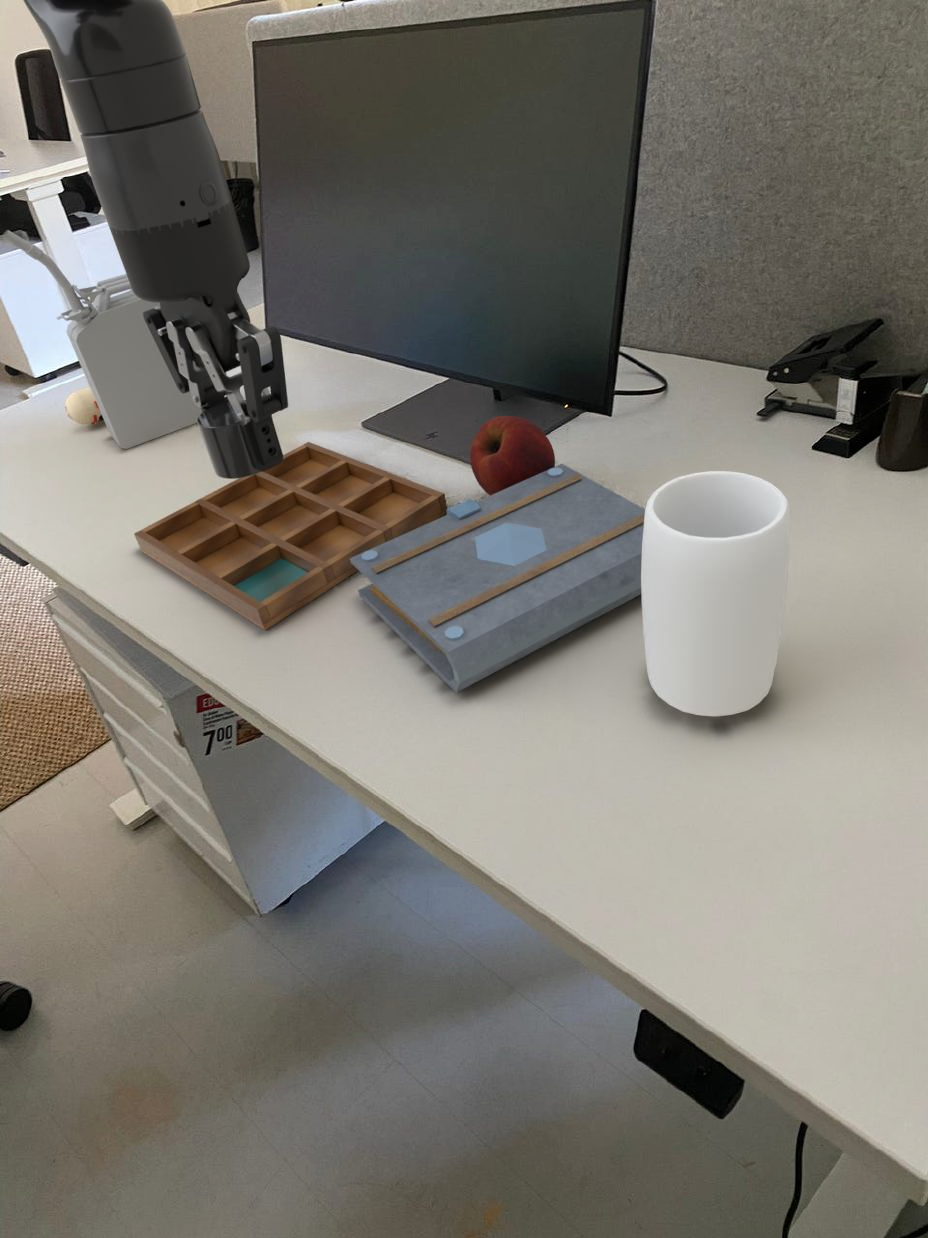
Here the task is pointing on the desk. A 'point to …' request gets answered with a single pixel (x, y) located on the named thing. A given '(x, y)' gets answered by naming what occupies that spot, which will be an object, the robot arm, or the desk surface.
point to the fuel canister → (120, 357)
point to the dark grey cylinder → (225, 442)
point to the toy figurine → (83, 407)
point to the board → (288, 530)
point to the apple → (509, 453)
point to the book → (507, 573)
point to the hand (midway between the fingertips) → (250, 456)
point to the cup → (714, 590)
